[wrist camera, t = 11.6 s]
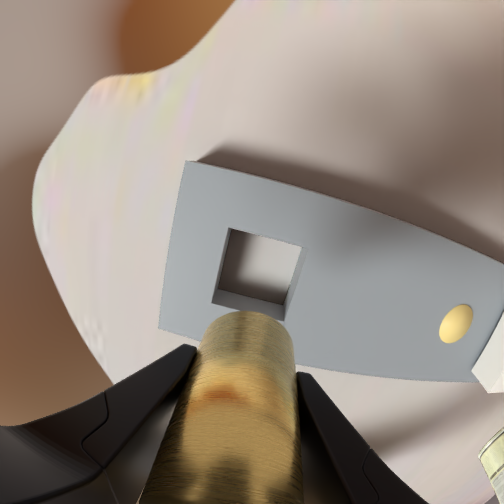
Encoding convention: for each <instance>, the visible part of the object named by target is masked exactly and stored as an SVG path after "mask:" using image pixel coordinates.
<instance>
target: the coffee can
mask: <svg viewBox="0 0 504 504" xmlns="http://www.w3.org/2000/svg"><path fill="white" fill-rule="evenodd" d="M478 458H479V459H480V461H481V463H482V465H483V467H484V470H485V472H486V474H487V476H488V478H489V480H490V483H491V485H492V487H493V489H494V492H495V494H496V496H497V499H498V501H499V504H504V428H503V429H501V430H500V431H499V432H498V433H497V434H496V435H495V436H494V437H493V438H492V439H491V440H489V442H488V443H487V444H486V445H485V446H484V447H483V448H482V450H481V451H480V453H479V455H478Z"/></svg>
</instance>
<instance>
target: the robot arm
mask: <svg viewBox="0 0 504 504" xmlns="http://www.w3.org/2000/svg"><path fill="white" fill-rule="evenodd" d="M196 353H197V348H196V347H194V346H191V345H188V344H183V345H181V346H179V347H178V348H176V349H174V350H173V351H171V352H169V353H168V354H166V355H164V356H163V357H161V358H159V359H158V360H156V361H154V362H153V363H151V364H149V365H148V366H146V367H144V368H143V369H141V370H139V371H137V372H136V373H134V374H132V375H131V376H129V377H127V378H125V379H124V380H122V381H120V382H118V383H117V384H115V385H113V386H111V387H110V388H108V389H106V390H105V391H104V392H100V393H99V394H97V395H95V396H93V397H91V398H89V399H87V400H85V401H83V402H81V403H80V404H77V405H75V406H72V407H70V408H68V409H65V410H63V411H60V412H57V413H55V414H52V415H49V416H46V417H43V418H40V419H37V420H34V421H31V422H28V423H25V424H22V425H16V426H0V504H136V502H137V500H138V498H139V496H140V494H141V492H142V490H143V488H144V486H145V484H146V481H147V479H148V476H149V473H150V471H151V468H152V465H153V463H154V460H155V458H156V455H157V452H158V450H159V447H160V444H161V442H162V439H163V437H164V434H165V431H166V429H167V426H168V424H169V421H170V419H171V416H172V413H173V411H174V408H175V406H176V403H177V401H178V398H179V395H180V393H181V390H182V388H183V385H184V383H185V381H186V378H187V376H188V373H189V371H190V368H191V365H192V363H193V360H194V358H195V355H196ZM296 382H297V394H298V407H299V421H300V437H301V453H302V472H303V495H304V504H429V503H428V502H426V501H425V500H424V499H423V498H421V497H420V496H419V495H418V494H417V493H416V492H415V491H413V490H412V489H411V488H410V487H409V486H408V485H407V484H406V483H404V482H403V481H402V480H401V479H400V478H399V477H398V476H397V475H396V474H395V473H394V472H393V471H392V470H391V469H390V468H389V467H388V466H387V465H386V464H385V463H384V462H383V461H382V460H381V459H380V457H379V456H378V455H377V454H376V453H375V452H374V451H373V449H370V446H369V445H368V444H367V442H366V441H365V440H364V439H363V438H362V436H361V435H360V434H359V433H358V432H357V431H356V429H355V428H354V427H353V426H352V425H351V423H350V422H349V421H348V420H347V418H346V417H345V416H344V415H343V414H342V412H341V411H340V410H339V409H338V408H337V406H336V405H335V404H334V403H333V401H332V400H331V399H330V398H329V396H328V395H327V394H326V393H325V392H324V390H323V389H322V388H321V387H320V385H319V384H318V383H317V382H316V380H315V379H314V378H313V377H312V375H311V374H309V373H304V372H297V373H296Z"/></svg>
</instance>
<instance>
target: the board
mask: <svg viewBox="0 0 504 504" xmlns="http://www.w3.org/2000/svg"><path fill="white" fill-rule="evenodd" d="M231 229H236V230H240V231H244V232H248V233H252V234H255V235H259V236H263V237H267V238H271V239H274V240H278V241H282V242H286V243H289V244H293V245H297V246H300V247H302V249H301V252H300V255H299V259H298V262H297V265H296V268H295V271H294V274H293V277H292V280H291V284H290V287H289V290H288V293H287V296H286V299H285V302H284V305H279V304H275V303H271V302H267V301H263V300H259V299H255V298H251V297H247V296H244V295H240V294H236V293H232V292H228V291H225V290H221V289H218V285H219V280H220V276H221V271H222V267H223V263H224V258H225V254H226V250H227V246H228V241H229V237H230V233H231ZM236 311H254V312H259V313H262V314H265V315H268V316H270V317H272V318H274V319H275V320H277V321H278V322H279V323H281V324H282V325H283V326H284V327H285V328H286V330H287V331H288V332H289V334H290V336H291V339H292V341H293V347H294V358H295V364H297V365H302V366H308V367H313V368H319V369H325V370H331V371H338V372H344V373H351V374H359V375H367V376H375V377H384V378H394V379H405V380H419V381H437V382H479V380H478V379H477V378H476V376H475V375H474V374H473V373H472V371H471V370H472V369H473V367H474V365H475V364H476V362H477V361H478V359H479V357H480V356H481V354H482V352H483V351H484V349H485V347H486V345H487V344H488V342H489V340H490V338H491V336H492V334H493V333H494V331H495V329H496V327H497V325H498V323H499V321H500V319H501V317H502V315H503V313H504V263H502V262H500V261H498V260H495V259H493V258H491V257H489V256H487V255H485V254H483V253H480V252H478V251H476V250H474V249H472V248H469V247H467V246H465V245H462V244H460V243H458V242H455V241H453V240H451V239H448V238H446V237H443V236H441V235H439V234H436V233H434V232H431V231H429V230H426V229H424V228H421V227H418V226H416V225H413V224H411V223H408V222H405V221H403V220H400V219H397V218H394V217H392V216H389V215H386V214H383V213H380V212H378V211H375V210H372V209H369V208H366V207H363V206H360V205H357V204H354V203H351V202H348V201H345V200H342V199H338V198H335V197H332V196H329V195H325V194H322V193H319V192H316V191H312V190H309V189H305V188H302V187H298V186H295V185H291V184H288V183H284V182H280V181H277V180H273V179H269V178H265V177H261V176H257V175H253V174H249V173H245V172H241V171H237V170H233V169H229V168H224V167H220V166H215V165H211V164H206V163H202V162H197V161H185V165H184V170H183V174H182V179H181V184H180V189H179V193H178V198H177V203H176V209H175V214H174V219H173V225H172V231H171V236H170V242H169V249H168V255H167V262H166V268H165V275H164V283H163V290H162V299H161V307H160V316H159V326H158V328H159V329H162V330H165V331H168V332H171V333H174V334H177V335H181V336H184V337H187V338H191V339H194V340H197V341H201V340H202V338H203V335H204V333H205V331H206V329H207V328H208V326H209V325H210V324H211V323H212V322H213V321H214V320H216V319H217V318H219V317H221V316H223V315H225V314H228V313H231V312H236Z"/></svg>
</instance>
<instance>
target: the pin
mask: <svg viewBox="0 0 504 504" xmlns="http://www.w3.org/2000/svg"><path fill="white" fill-rule="evenodd" d="M139 504H304V495H303V472H302V453H301V437H300V421H299V407H298V394H297V382H296V370H295V358H294V347H293V341H292V339H291V336H290V334H289V332H288V331H287V330H286V328H285V327H284V326H283V325H282V324H281V323H279V322H278V321H277V320H275V319H274V318H272V317H270V316H268V315H265V314H262V313H259V312H254V311H236V312H231V313H228V314H225V315H223V316H221V317H219V318H217V319H216V320H214V321H213V322H212V323H211V324H210V325H209V326H208V328H207V329H206V331H205V333H204V335H203V338H202V340H201V343H200V345H199V348H198V350H197V353H196V355H195V358H194V360H193V363H192V365H191V368H190V371H189V373H188V376H187V378H186V381H185V383H184V385H183V388H182V390H181V393H180V395H179V398H178V401H177V403H176V406H175V408H174V411H173V413H172V416H171V419H170V421H169V424H168V426H167V429H166V431H165V434H164V437H163V439H162V442H161V444H160V447H159V450H158V452H157V455H156V458H155V460H154V463H153V465H152V468H151V471H150V473H149V476H148V479H147V481H146V484H145V487H144V489H143V492H142V495H141V498H140V500H139Z"/></svg>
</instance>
